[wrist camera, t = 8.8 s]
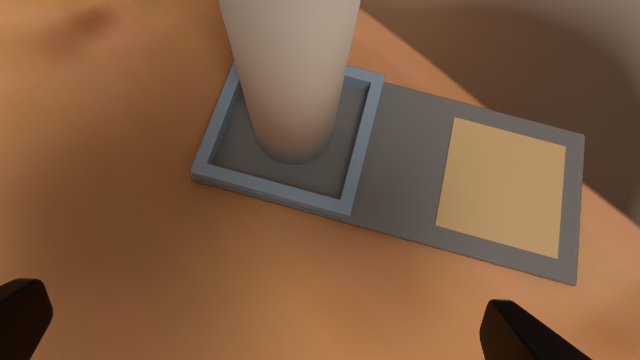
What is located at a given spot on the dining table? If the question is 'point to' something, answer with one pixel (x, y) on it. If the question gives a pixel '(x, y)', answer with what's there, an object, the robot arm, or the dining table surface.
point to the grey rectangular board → (418, 174)
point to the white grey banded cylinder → (291, 69)
